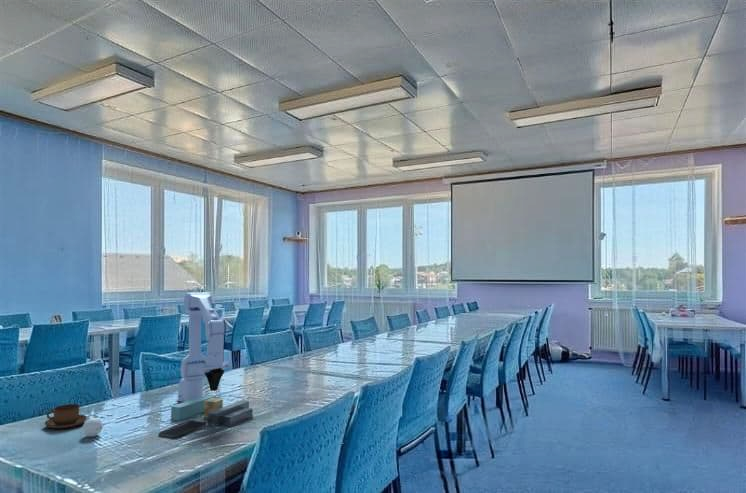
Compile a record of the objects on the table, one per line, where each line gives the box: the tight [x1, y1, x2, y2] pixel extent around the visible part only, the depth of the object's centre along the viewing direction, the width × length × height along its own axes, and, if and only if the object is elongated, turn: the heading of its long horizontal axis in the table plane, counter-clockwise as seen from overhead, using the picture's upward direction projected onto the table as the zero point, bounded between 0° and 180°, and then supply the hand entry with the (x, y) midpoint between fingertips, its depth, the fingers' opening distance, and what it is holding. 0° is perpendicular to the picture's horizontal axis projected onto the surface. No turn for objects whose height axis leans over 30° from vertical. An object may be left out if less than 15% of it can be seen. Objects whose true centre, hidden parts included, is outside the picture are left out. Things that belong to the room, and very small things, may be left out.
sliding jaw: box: [170, 394, 217, 422], centre depth 179 cm, size 4×18×4 cm, turn 156°
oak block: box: [203, 397, 224, 419], centre depth 175 cm, size 4×4×6 cm
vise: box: [207, 399, 254, 428], centre depth 171 cm, size 7×18×4 cm, turn 156°
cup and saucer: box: [44, 403, 88, 430], centre depth 163 cm, size 12×12×6 cm
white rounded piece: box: [81, 417, 103, 438], centre depth 153 cm, size 8×6×6 cm
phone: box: [158, 420, 208, 440], centre depth 159 cm, size 8×1×15 cm
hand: (213, 390), depth 175 cm, fingers closed
